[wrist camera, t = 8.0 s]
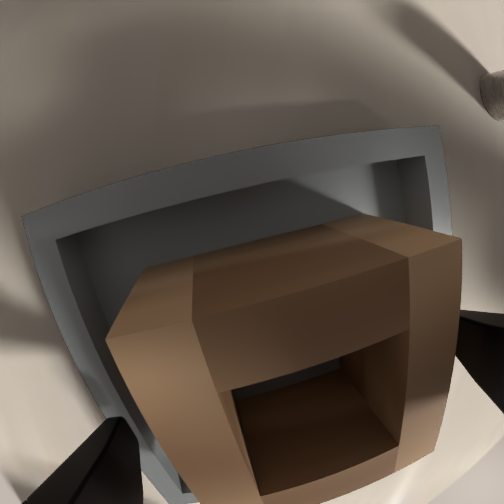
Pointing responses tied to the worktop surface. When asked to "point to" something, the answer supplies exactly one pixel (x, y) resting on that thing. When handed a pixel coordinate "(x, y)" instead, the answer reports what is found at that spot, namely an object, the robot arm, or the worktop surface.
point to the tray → (217, 239)
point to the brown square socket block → (295, 358)
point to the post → (493, 93)
